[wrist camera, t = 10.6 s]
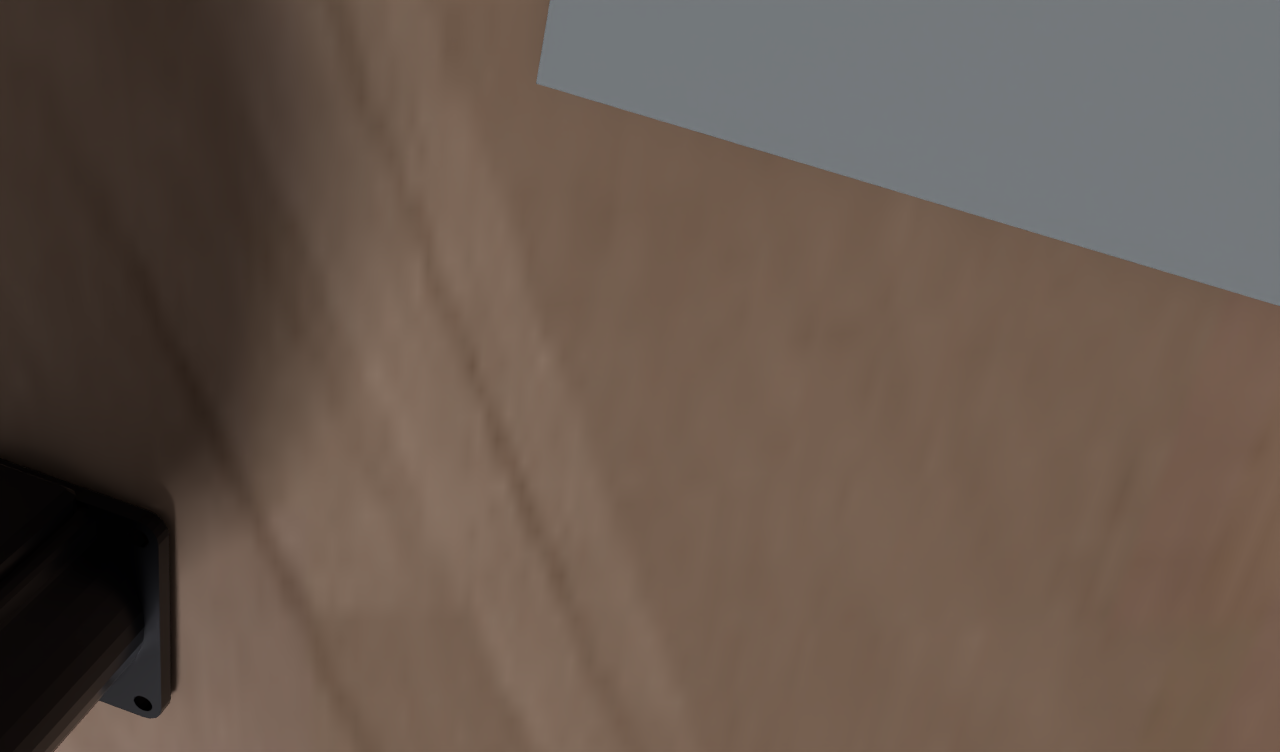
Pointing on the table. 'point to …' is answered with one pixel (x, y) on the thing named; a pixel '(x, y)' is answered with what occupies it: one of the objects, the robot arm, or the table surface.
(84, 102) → the table surface
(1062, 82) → the shallow gray tray
